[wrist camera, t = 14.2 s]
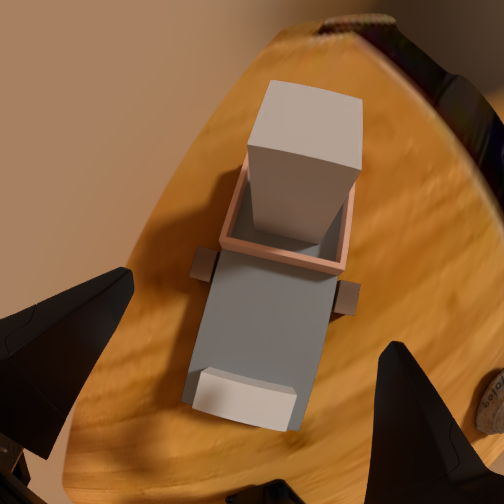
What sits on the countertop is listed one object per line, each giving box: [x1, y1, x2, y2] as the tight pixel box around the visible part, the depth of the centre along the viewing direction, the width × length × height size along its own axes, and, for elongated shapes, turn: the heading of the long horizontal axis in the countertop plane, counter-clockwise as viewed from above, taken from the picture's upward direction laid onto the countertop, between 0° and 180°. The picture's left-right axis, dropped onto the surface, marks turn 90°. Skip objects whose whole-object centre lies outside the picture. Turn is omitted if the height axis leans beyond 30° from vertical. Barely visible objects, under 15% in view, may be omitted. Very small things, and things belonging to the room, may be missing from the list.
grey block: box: [247, 80, 363, 245], centre depth 16 cm, size 5×5×10 cm
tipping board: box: [181, 152, 355, 432], centre depth 19 cm, size 21×9×4 cm, turn 166°
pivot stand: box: [189, 246, 361, 316], centre depth 21 cm, size 2×13×2 cm, turn 76°
